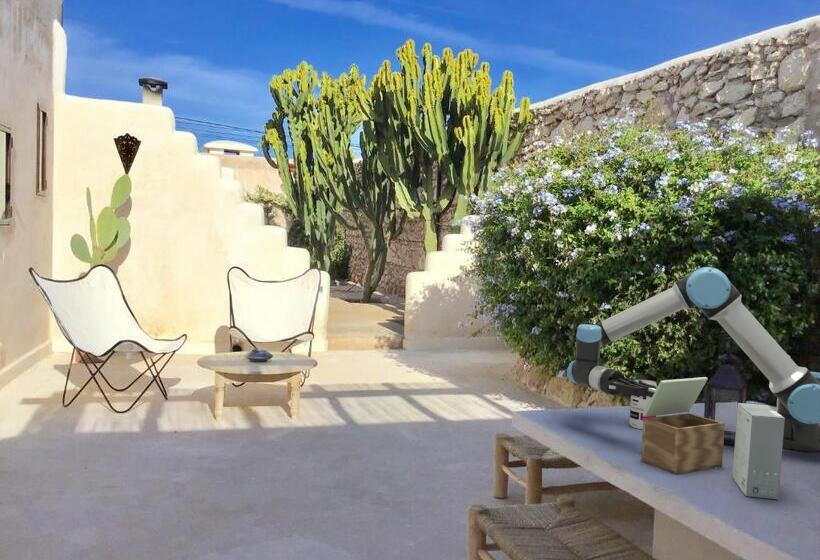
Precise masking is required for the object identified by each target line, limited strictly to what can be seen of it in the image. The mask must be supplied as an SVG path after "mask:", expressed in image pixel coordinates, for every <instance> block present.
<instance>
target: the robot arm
mask: <svg viewBox="0 0 820 560" xmlns="http://www.w3.org/2000/svg"><path fill="white" fill-rule="evenodd" d="M696 307H697V308H698V309H699V310H700V311H701V312H702V313H703V315H704V316H706V318H707V319H708V320H713V321H717V322H718V323H719V325H720V326H721V327H722V329H724V331H725V332H726V333H727V334H728V335H729V336H730V337H731V338H732V340H733V341H734V342H735V343H736V344H737V345H738V346H739V348H740V349H741V350H742V351H743V352H744V353H745V354H746V356H748V358H749V359H750V360H751V361H752V363H754V364H755V366H756V367H757V368H758V370H760V372H761V373H762V374H763V375H764V376H765V377H766V379H768V380H769V383H770V382H771V383H772V385H773V387H772V391H771V393H772V394H773V395H774V394H775V395H776V396H775V395H774V396H775V397H776V398H778V409H777V408H776V411H777V413H779V414H780V415H781V416H783V417H784V418H785V421H784V433H783V446H782V449H783V448H784V449H788V450H792V449H793V450H794V451H799V450H800V452H820V372H816V371H810V370H809V369H808V368H807V367H804V366H798V365H797V363H795V361H794V360H793V359H792V358H791V356H790V355H789V354H787V352H786V351H785V350H784V349H783V347H781V346H780V345H779V344H778V342H777V341H776V340H775V338H773V336H771V334H769V332H768V331H767V330H766V329H765V327H764V326H762V324H761V323H760V322H759V321H758V320H757V318H755V316H754V315H753V314H752V313H751V312H750V310H749V309H748V308H747V307H746V306H745V305H744V304H743V303H742V293H741V292H740V291H739V290H738V289H737V288H736V287H735V286H734V284H732V282H731V281H730V280H729V278H728V277H727V275H726V274H725V273H724V272H722V271H721V270H720V269H718V268H715V267H711V266H701V267H698V268H696V269H694V270H693V271H692V272H691V273H688V275H686V276H684V277H683V278H681V279H679V280H677V281H675V282H674V283H673V286H672V287H669V288H667V289H666V290H664V291H662V292H660V293H658V294H656V295H653V296H650V297H649V298H647V299H645V300H643V301H641V302H638V303H637V304H635V305H633V306H630V307H628V308H627V309H625V310H623V311H620V312H618V313H616V314H614V315H612V316H610V317H608V318H605V319H604V320H602V321H600V322H597V323H595V324H586V323H585V324H584V323H583V324H579V325H578V326H577V330H576V335H575V337H576V340H575V341H576V342H575V357H574V360H572V361H571V362H570V363H569V364H568V367H567V368H566V375H567V378H568V380H569V381H570V382H572V383H573V384H576V385H578V386H581V387H585V388H588V389H593V390H596V391H598V393H599V394H601V393H605V394H608V395H611V396H617V395H620V394H624V395H629V396H631V395H632V396H636V397H640V396H642V397H643V399H644V400H646V398H647V396H648V398H652V396H653V395H654V393H655V391H656V389H657V387H658V386H657V387H655V386H654V385H650V384H647V383H644V382H643V381H641V380H642V379H637V380H638V381H637V382H636V381H634V380H633V379H631V378H629V377H625V375H624V373H623V372H621V370H618V369H613V368H610V367H606V366H601V365H600V357H601V356H600V355H601V348H602V347H605V346H607V345H609V344H611V343H612V342H615V341H617V340H619V339H621V338H624V337H626V336H628V335H630V334H632V333H635V332H636V331H638V330H641V329H643V328H645V327H648V326H650V325H652V324H653V323H656V322H659V321H660V320H662V319H664V318H667V317H669V316H671V315H673V314H675V313H677V312H679V311H682V310H683V309H685V310H691V309H693V308H696ZM788 355H789V356H790V357H789V356H788ZM793 450H792V451H793Z"/></svg>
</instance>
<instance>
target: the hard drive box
mask: <svg viewBox="0 0 820 560" xmlns="http://www.w3.org/2000/svg"><path fill="white" fill-rule="evenodd" d="M736 409H737V410H736V421H735V422H736V423H735V437H734V451H733V462H732V463H733V464H732V479H733V480H734V482H735V483H736V484H737V485H738V487H739V488H740V490H741V492H742V493H743V494H744V496H745V497H746V496H747V497H755V498H761V499H772V500H779V498H780V497H779V496H780V485H781V473H782V472H781V471H782V461H783V459H782V458H783V447H782V446H783V433H784V421H785V418H784V417H783V416H781V415H780V414H779V413H777V412H776V411H777V410H775V409H773V408H771V407H770V406H769V405H766V404H757V403H756V404H755V403H754V404H753V403H744V402H742V403H741V402H738V403H737V408H736Z"/></svg>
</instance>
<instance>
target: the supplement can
mask: <svg viewBox="0 0 820 560" xmlns="http://www.w3.org/2000/svg"><path fill="white" fill-rule="evenodd" d="M638 380H639V379H634V380H633V381H636V382H637V381H638ZM640 380H641V381H643V382H644V383H647V384H650V385H654V386H655V387H658V385H657V382H656V381H655V380H648V379H640ZM650 400H651V398H648V396H647V398H646V400H644V399H643V397H642V396H640V397H636V396H632V395H630V404H629V405H630V406H629V407H630V408H629V425H630V426H631V427H632V428H634V429H637V430H642V431H643V418H652V417H657V415H656V416H648V417H644V416H643V413H644V411H645V410H646V408H647V406H648V404H649V402H650Z"/></svg>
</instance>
